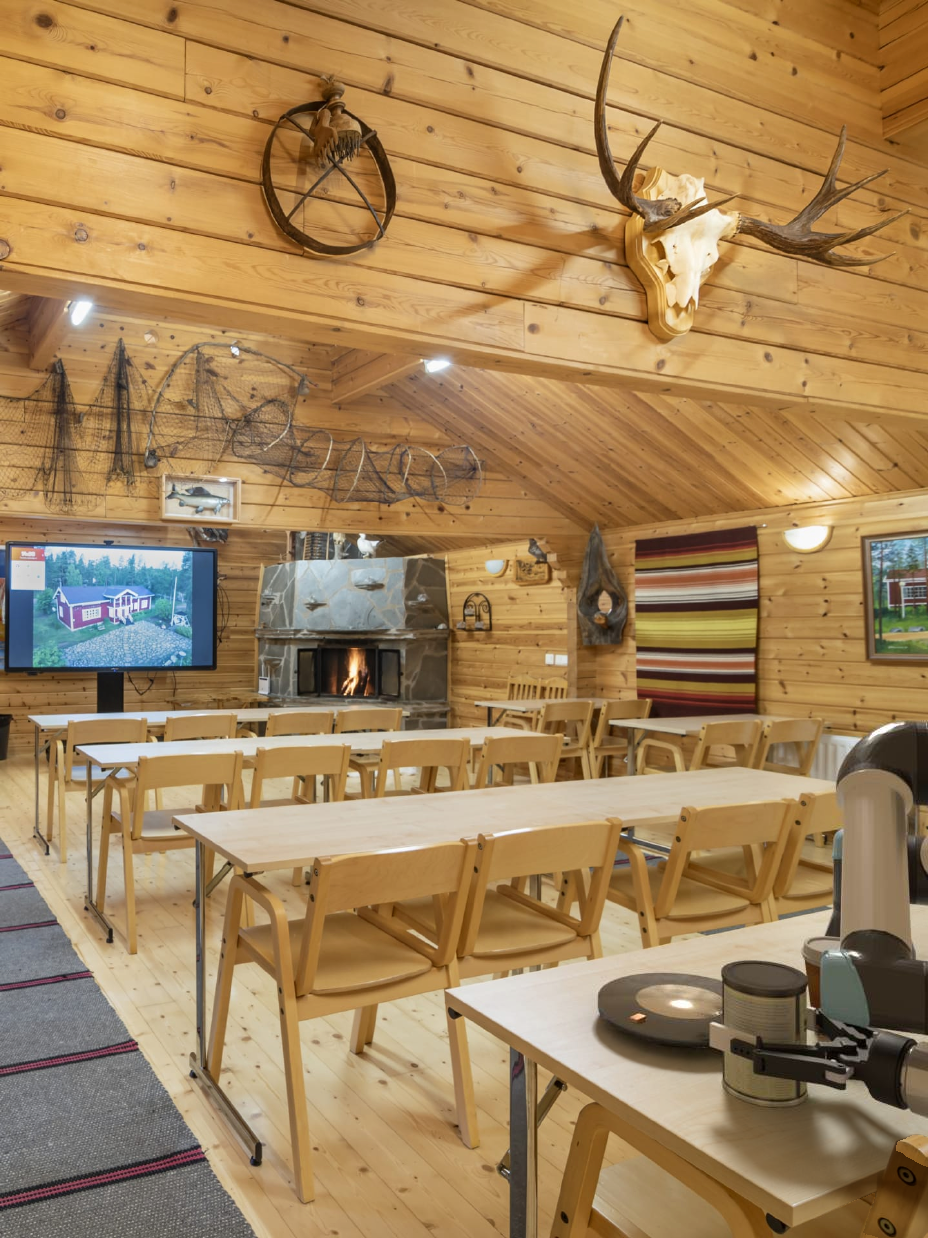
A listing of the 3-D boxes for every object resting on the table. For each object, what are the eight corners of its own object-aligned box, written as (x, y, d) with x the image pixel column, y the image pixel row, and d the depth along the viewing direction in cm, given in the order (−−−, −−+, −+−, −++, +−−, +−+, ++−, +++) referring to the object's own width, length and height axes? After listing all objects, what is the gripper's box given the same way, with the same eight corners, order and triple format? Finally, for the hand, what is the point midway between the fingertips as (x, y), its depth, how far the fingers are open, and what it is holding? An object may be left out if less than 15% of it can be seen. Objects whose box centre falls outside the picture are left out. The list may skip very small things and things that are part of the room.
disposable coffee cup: (879, 1047, 129) (879, 959, 129) (806, 1040, 131) (806, 953, 131) (864, 1020, 138) (864, 938, 139) (796, 1014, 140) (796, 933, 140)
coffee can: (711, 1069, 122) (711, 959, 122) (789, 1069, 122) (789, 959, 122) (735, 1108, 111) (735, 988, 112) (821, 1108, 112) (821, 988, 112)
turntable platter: (660, 971, 153) (660, 958, 153) (799, 1014, 135) (799, 999, 135) (563, 1009, 136) (564, 995, 136) (708, 1064, 119) (708, 1047, 119)
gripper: (864, 1151, 95) (685, 1079, 110) (955, 1075, 112) (788, 1022, 128) (864, 1076, 95) (685, 1015, 111) (954, 1012, 112) (788, 966, 128)
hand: (740, 1019), depth 119 cm, fingers open, 13 cm apart
